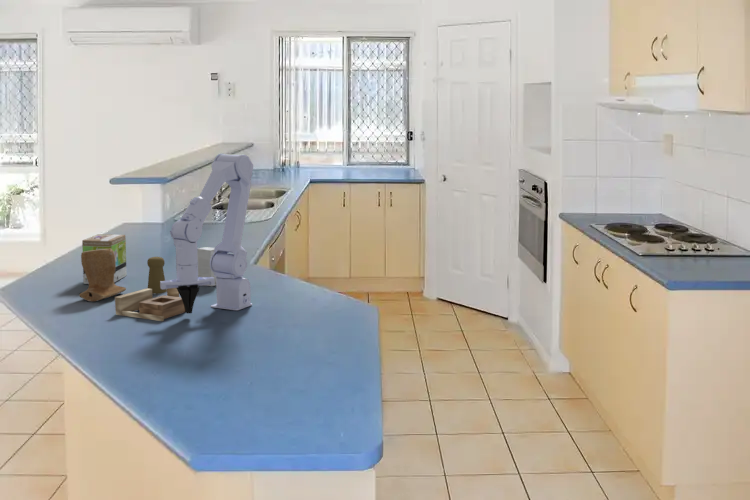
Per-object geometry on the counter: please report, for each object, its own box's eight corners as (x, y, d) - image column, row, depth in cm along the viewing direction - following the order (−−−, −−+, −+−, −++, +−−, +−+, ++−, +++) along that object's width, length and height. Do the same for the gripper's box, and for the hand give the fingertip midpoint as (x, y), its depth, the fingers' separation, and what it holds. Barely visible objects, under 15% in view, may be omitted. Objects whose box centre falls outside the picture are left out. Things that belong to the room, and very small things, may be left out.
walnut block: (186, 311, 235) (185, 298, 234) (162, 319, 226) (161, 305, 225) (163, 308, 238) (163, 295, 238) (139, 316, 229) (139, 302, 229)
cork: (159, 288, 265) (157, 254, 263) (171, 291, 261) (169, 256, 259) (143, 291, 260) (141, 257, 258) (154, 294, 257) (153, 259, 255)
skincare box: (220, 284, 272) (219, 248, 270) (211, 286, 268) (210, 250, 266) (206, 282, 275) (205, 246, 273) (197, 284, 271) (196, 248, 269)
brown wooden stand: (97, 291, 261) (95, 244, 259) (131, 293, 258) (129, 245, 256) (68, 301, 247) (65, 251, 244) (103, 304, 244) (100, 253, 241)
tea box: (113, 285, 270) (111, 240, 268) (82, 284, 270) (80, 240, 268) (127, 276, 285) (125, 233, 283) (98, 275, 285) (96, 233, 283)
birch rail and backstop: (192, 311, 236) (191, 293, 235) (161, 321, 224) (161, 303, 223) (147, 305, 243) (146, 288, 242) (115, 314, 231) (114, 297, 230)
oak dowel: (181, 303, 244) (181, 280, 243) (174, 306, 241) (173, 282, 240) (172, 302, 246) (171, 279, 245) (165, 305, 243) (164, 281, 242)
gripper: (209, 259, 232) (210, 306, 235) (156, 263, 226) (158, 312, 228) (216, 263, 226) (217, 312, 229) (162, 267, 220) (164, 317, 222)
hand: (188, 312), depth 228 cm, fingers closed
